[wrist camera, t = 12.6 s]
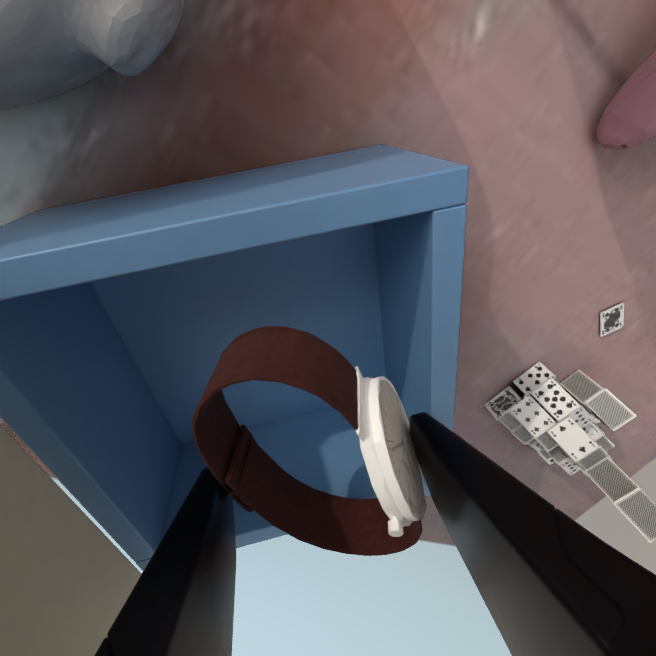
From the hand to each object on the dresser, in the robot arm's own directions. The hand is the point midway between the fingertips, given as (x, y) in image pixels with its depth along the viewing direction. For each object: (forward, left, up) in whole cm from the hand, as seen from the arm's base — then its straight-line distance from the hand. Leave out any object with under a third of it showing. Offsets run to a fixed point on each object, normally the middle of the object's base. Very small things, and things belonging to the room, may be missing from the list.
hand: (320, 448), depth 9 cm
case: (-1, 0, -7) cm, 7 cm away
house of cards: (+15, -9, -7) cm, 19 cm away
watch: (0, 0, -1) cm, 1 cm away
